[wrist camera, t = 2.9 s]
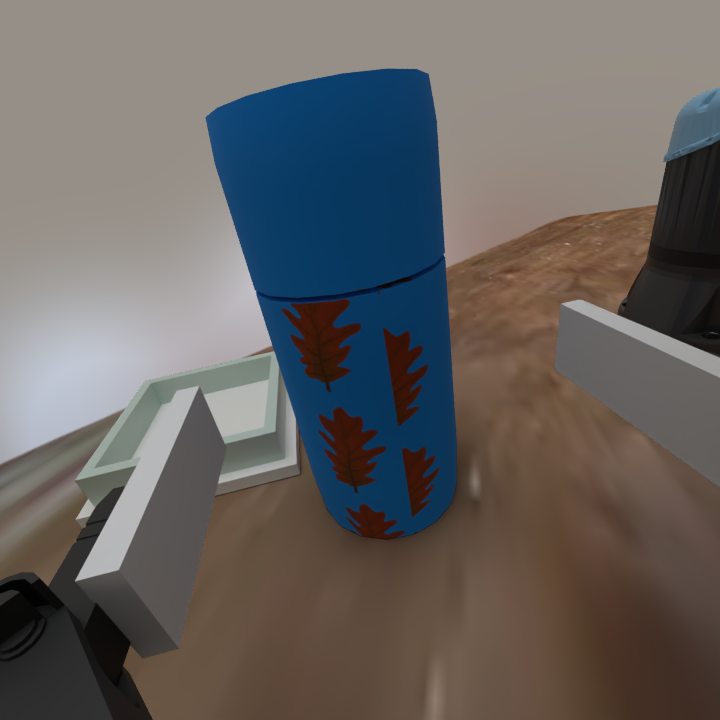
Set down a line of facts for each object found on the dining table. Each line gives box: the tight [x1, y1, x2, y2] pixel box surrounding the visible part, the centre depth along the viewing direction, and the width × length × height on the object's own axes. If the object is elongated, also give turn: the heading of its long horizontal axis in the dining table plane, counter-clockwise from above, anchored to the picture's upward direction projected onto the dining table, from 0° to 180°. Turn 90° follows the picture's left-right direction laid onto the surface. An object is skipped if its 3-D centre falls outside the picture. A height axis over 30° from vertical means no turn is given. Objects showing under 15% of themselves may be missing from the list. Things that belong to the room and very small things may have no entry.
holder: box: [75, 351, 300, 529], centre depth 38 cm, size 18×18×4 cm
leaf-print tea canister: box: [206, 69, 457, 539], centre depth 23 cm, size 11×11×25 cm
